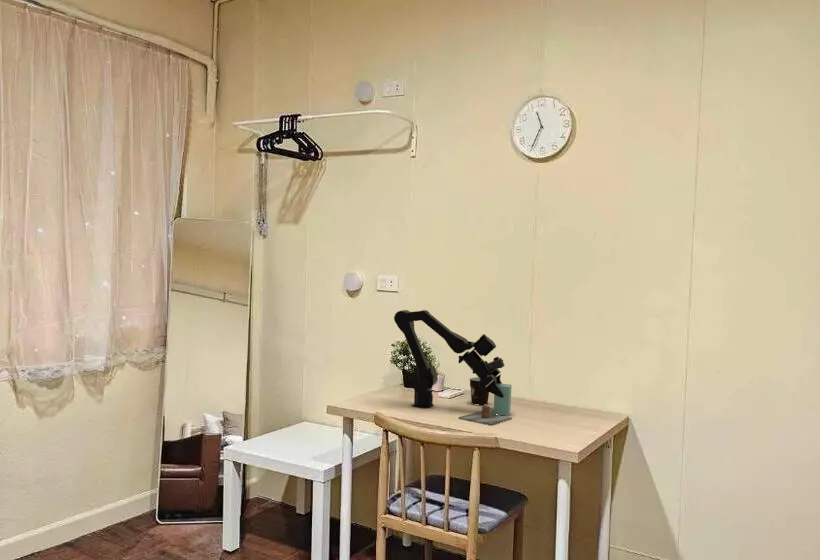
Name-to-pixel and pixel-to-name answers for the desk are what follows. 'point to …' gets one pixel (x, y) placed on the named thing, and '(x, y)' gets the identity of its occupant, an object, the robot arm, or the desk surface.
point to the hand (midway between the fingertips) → (504, 395)
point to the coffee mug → (478, 392)
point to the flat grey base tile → (485, 417)
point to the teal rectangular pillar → (503, 400)
